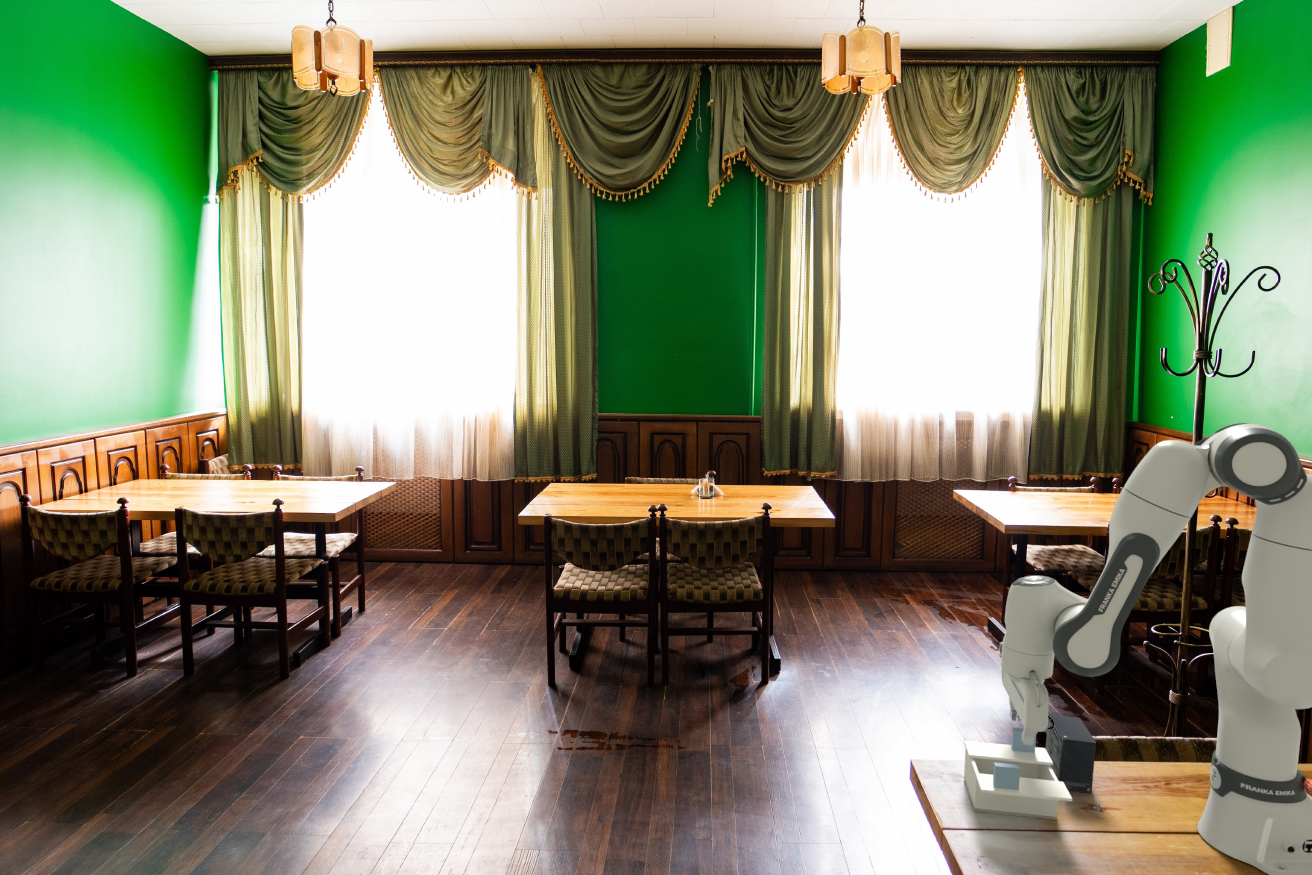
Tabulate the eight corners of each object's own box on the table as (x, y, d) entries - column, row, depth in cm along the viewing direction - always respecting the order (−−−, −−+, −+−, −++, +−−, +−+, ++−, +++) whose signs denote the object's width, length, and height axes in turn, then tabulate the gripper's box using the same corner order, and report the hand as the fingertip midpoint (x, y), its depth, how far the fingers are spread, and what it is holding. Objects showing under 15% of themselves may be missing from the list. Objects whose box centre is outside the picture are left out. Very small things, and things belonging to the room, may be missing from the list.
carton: (1041, 786, 156) (1043, 752, 155) (1057, 819, 145) (1059, 783, 144) (964, 778, 159) (965, 744, 158) (974, 810, 148) (976, 774, 147)
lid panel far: (1044, 750, 155) (1046, 728, 155) (1052, 765, 150) (1054, 742, 149) (964, 742, 158) (965, 721, 157) (969, 757, 153) (970, 734, 152)
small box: (1094, 794, 153) (1098, 741, 152) (1057, 790, 155) (1060, 738, 153) (1077, 765, 164) (1081, 716, 162) (1042, 762, 165) (1046, 713, 164)
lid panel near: (1062, 784, 144) (1064, 760, 143) (1072, 801, 138) (1073, 776, 138) (975, 775, 146) (976, 751, 146) (981, 791, 141) (982, 767, 141)
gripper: (1061, 686, 141) (1054, 761, 143) (1031, 642, 161) (1025, 708, 163) (1022, 682, 143) (1016, 756, 145) (997, 639, 163) (992, 705, 164)
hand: (1021, 730), depth 154 cm, fingers open, 8 cm apart
